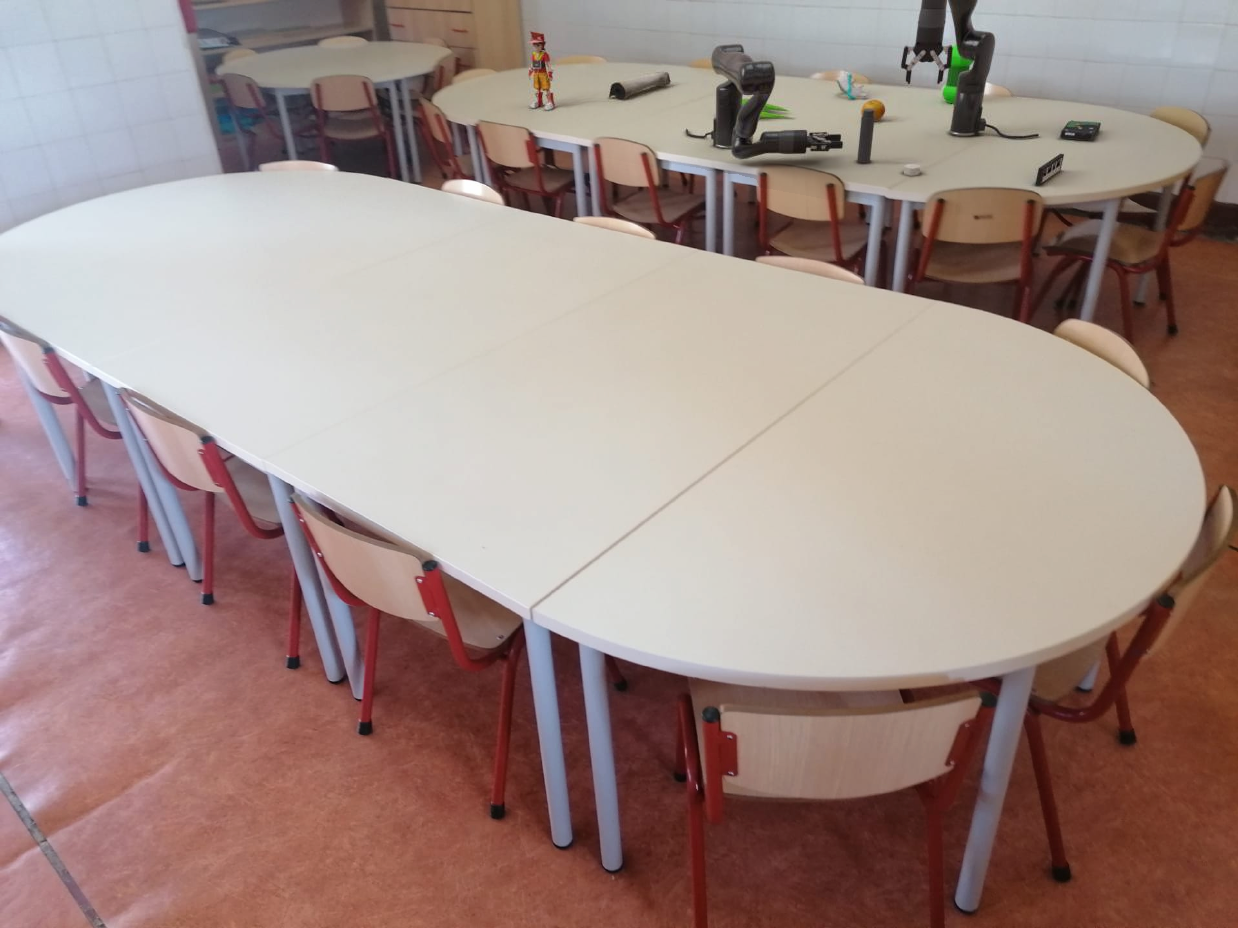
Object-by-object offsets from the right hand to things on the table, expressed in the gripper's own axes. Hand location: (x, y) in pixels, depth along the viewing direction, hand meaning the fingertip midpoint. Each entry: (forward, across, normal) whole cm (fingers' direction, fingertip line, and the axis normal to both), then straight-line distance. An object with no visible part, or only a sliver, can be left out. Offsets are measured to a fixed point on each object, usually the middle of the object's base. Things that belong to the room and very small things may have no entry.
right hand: (923, 83), depth 270 cm
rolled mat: (+27, +114, -108) cm, 159 cm away
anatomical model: (+27, +24, -103) cm, 109 cm away
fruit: (+27, +14, -64) cm, 71 cm away
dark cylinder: (+27, +15, -11) cm, 33 cm away
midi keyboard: (+27, -40, +1) cm, 48 cm away
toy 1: (+27, +151, -79) cm, 172 cm away
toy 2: (+27, +58, -70) cm, 95 cm away
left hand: (+20, +23, -11) cm, 33 cm away
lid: (+25, 0, 0) cm, 25 cm away
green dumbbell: (+27, -17, -93) cm, 99 cm away
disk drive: (+27, -56, -48) cm, 79 cm away
